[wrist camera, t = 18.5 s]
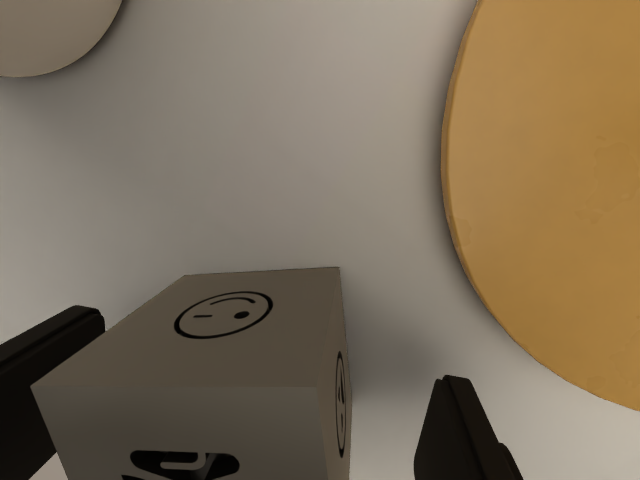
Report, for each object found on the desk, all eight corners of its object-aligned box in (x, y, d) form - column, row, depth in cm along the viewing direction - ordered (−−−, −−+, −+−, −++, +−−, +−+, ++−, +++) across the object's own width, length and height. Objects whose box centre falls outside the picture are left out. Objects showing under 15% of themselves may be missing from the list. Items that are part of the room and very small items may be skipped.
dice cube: (339, 267, 10) (316, 387, 5) (352, 404, 11) (344, 607, 6) (184, 275, 10) (29, 385, 5) (214, 403, 12) (110, 582, 7)
